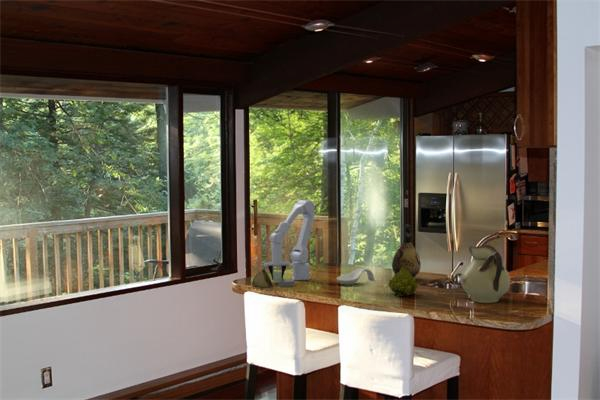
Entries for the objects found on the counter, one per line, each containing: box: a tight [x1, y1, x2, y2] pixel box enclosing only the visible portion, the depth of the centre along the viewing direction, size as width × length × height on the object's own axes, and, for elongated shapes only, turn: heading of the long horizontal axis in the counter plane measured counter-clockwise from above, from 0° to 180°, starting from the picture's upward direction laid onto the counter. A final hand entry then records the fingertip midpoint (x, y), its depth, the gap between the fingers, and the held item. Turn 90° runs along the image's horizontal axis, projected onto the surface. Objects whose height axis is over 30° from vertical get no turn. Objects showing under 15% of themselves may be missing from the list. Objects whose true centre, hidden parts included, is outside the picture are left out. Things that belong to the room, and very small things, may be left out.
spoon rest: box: [336, 268, 375, 286], centre depth 389 cm, size 24×12×7 cm, turn 131°
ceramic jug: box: [391, 224, 421, 278], centre depth 396 cm, size 17×15×30 cm
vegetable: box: [388, 267, 419, 297], centre depth 354 cm, size 15×16×15 cm
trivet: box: [278, 278, 295, 288], centre depth 386 cm, size 8×8×3 cm
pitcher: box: [460, 244, 511, 304], centre depth 337 cm, size 22×24×25 cm
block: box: [272, 269, 282, 284], centre depth 395 cm, size 4×4×6 cm
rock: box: [251, 268, 274, 288], centre depth 384 cm, size 11×9×10 cm
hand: (277, 279), depth 395 cm, fingers closed on block, 4 cm apart
